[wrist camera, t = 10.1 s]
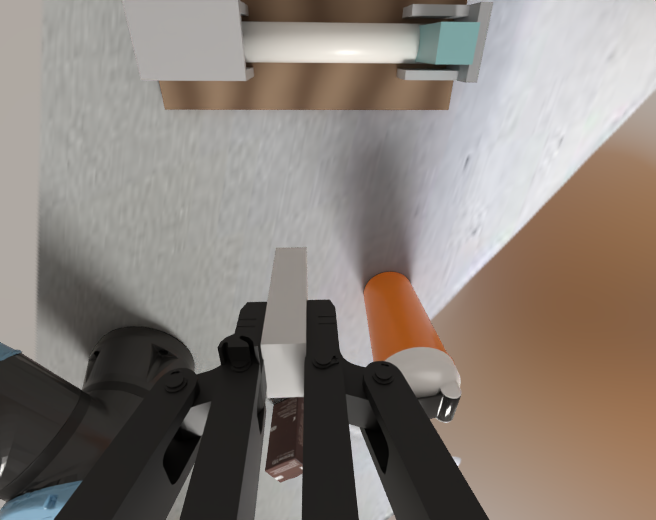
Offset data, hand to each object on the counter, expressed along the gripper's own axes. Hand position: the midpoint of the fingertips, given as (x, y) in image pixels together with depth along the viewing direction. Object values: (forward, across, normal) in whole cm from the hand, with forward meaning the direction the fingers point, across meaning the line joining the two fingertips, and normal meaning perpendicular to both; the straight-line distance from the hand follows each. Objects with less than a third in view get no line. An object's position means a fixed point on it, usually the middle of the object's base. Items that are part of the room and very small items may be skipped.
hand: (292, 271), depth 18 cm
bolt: (+25, +4, +10) cm, 27 cm away
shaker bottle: (+27, +12, -21) cm, 36 cm away
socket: (+25, +13, +10) cm, 30 cm away
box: (+27, -3, -46) cm, 53 cm away
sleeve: (+25, -9, +10) cm, 29 cm away
